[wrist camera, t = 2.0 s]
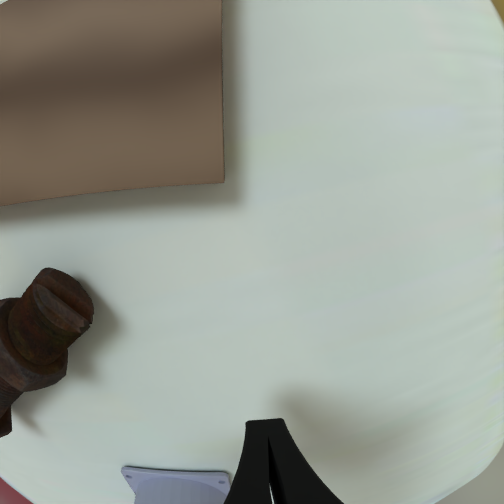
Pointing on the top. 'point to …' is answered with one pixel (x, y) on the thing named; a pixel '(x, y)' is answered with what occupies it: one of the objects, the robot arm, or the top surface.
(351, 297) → the top surface
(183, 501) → the robot arm
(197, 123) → the plank
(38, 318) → the bolt
